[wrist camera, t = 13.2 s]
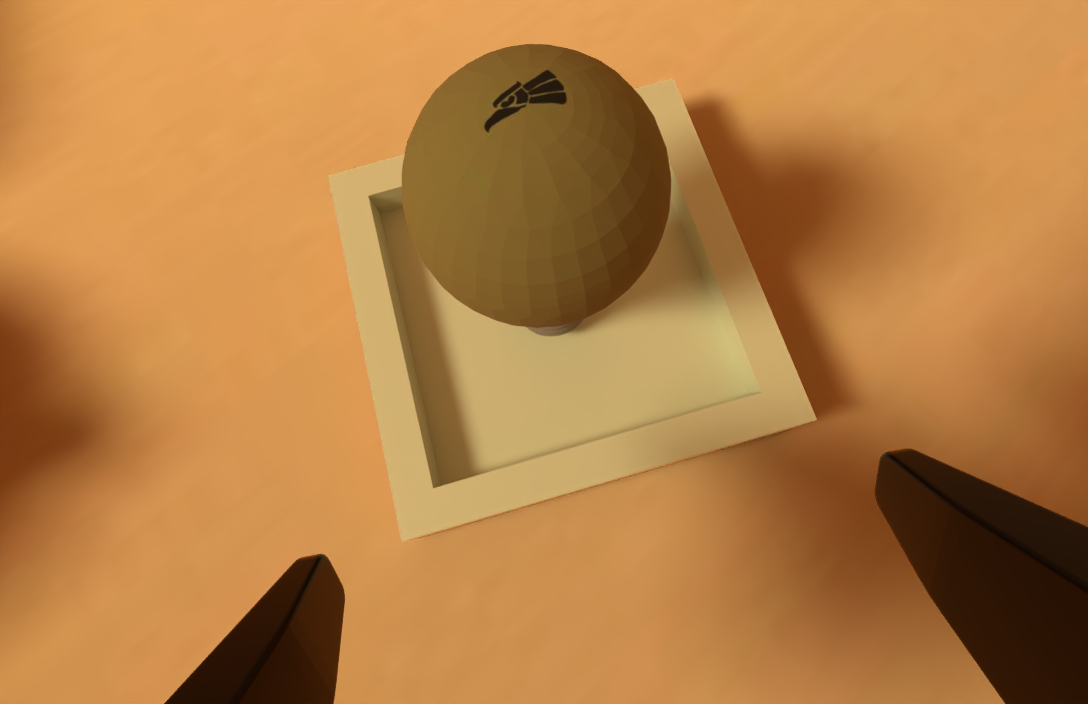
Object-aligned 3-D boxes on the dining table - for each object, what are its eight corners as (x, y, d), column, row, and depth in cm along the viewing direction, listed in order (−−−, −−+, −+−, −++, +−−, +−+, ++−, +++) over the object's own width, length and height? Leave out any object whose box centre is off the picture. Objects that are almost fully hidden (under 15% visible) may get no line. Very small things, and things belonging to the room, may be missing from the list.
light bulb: (538, 201, 20) (499, -81, 10) (669, 290, 19) (766, 67, 9) (436, 322, 19) (287, 138, 9) (567, 423, 18) (555, 332, 8)
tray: (789, 429, 18) (817, 420, 16) (422, 537, 18) (401, 541, 16) (664, 119, 22) (673, 77, 19) (352, 208, 21) (327, 175, 19)
